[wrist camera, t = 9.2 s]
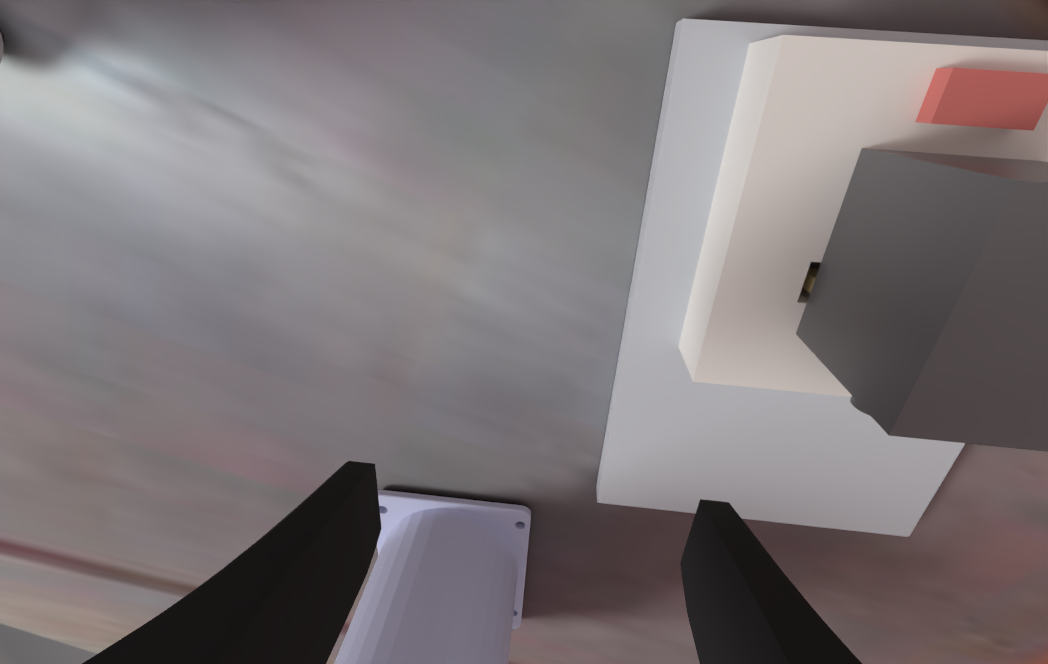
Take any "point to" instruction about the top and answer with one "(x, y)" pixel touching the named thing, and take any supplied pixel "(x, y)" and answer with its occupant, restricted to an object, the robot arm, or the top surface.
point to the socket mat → (725, 410)
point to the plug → (939, 297)
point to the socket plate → (831, 178)
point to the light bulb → (1, 45)
